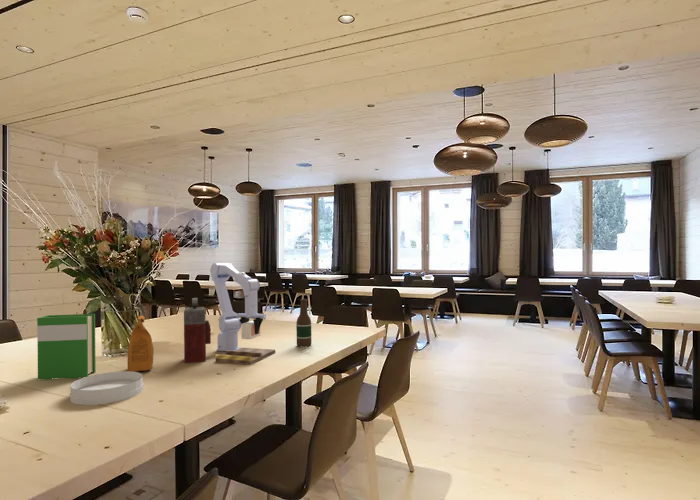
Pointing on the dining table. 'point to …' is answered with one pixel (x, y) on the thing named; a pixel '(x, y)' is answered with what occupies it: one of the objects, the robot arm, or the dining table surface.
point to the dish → (106, 388)
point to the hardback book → (66, 346)
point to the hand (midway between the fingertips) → (251, 333)
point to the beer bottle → (303, 326)
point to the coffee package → (140, 348)
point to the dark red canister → (195, 333)
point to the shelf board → (244, 355)
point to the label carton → (249, 330)
